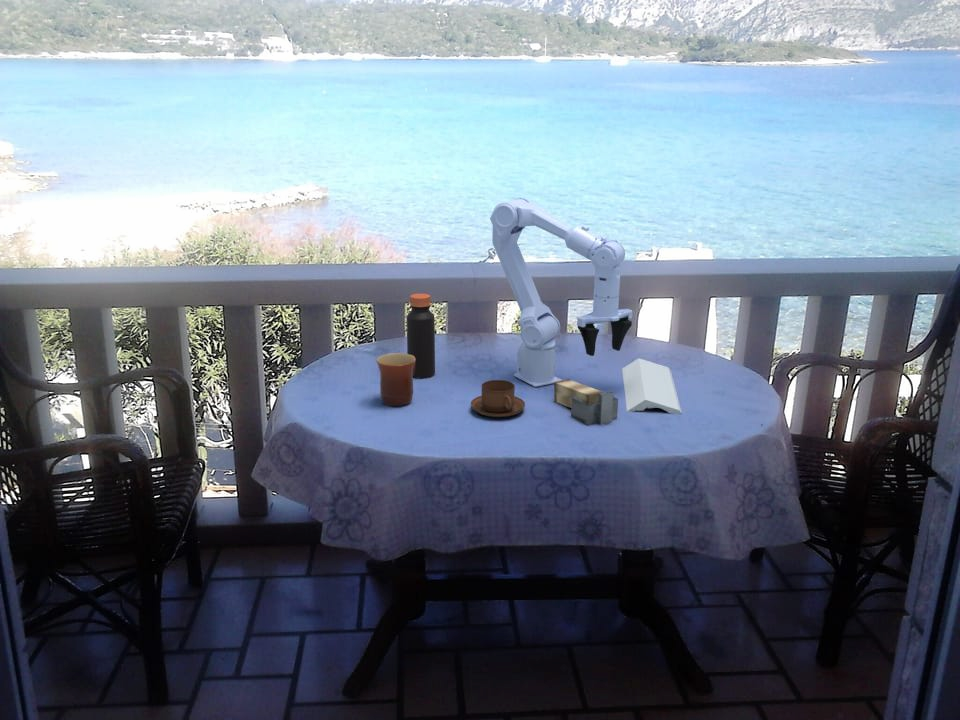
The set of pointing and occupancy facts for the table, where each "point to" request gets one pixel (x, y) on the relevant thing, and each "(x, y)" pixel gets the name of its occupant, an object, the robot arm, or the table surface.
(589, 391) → the tan rectangular block
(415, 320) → the bottle
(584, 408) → the bracket
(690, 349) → the table surface
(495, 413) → the cup and saucer
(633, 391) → the crown molding
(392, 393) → the mug
